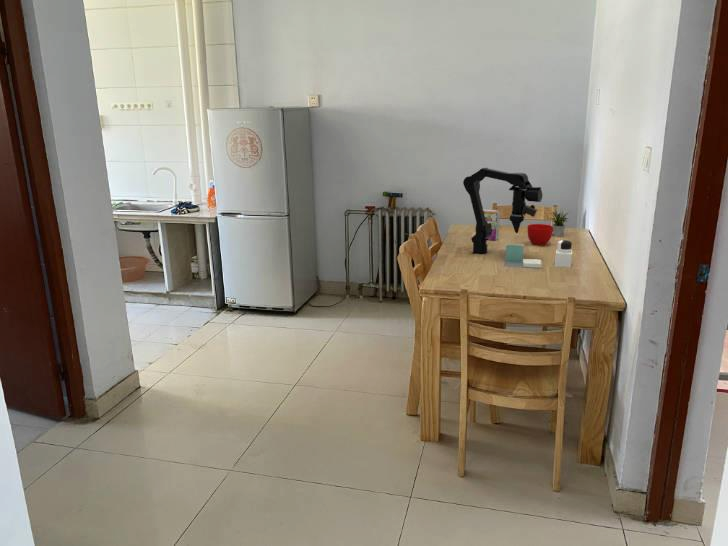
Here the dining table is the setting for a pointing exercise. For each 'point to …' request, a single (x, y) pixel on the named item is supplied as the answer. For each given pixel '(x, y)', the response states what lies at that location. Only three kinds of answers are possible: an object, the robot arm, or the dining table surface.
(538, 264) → the flat tile
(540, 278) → the dining table surface
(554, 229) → the house plant
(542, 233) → the ceramic cup
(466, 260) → the dining table surface
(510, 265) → the mat
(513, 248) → the tile
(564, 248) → the medicine bottle
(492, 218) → the candy bar box
